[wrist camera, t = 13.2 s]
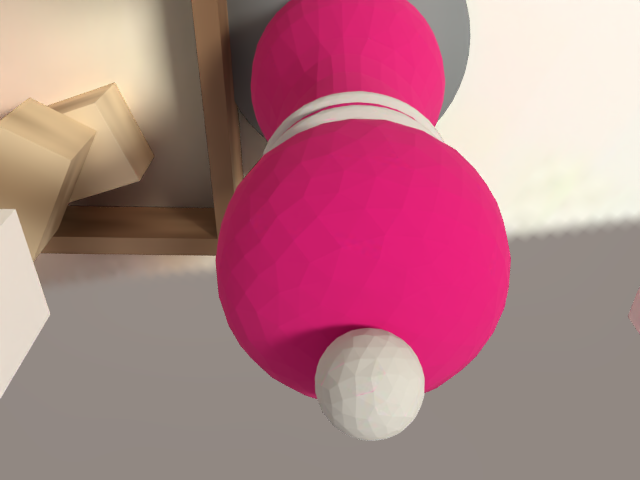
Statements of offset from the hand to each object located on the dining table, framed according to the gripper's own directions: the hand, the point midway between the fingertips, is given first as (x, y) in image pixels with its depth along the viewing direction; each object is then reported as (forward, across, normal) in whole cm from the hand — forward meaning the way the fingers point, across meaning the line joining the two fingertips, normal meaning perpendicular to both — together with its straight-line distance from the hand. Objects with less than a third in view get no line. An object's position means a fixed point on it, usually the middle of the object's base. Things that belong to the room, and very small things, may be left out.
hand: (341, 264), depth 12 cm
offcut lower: (+17, -13, -5) cm, 22 cm away
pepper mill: (+16, +1, 0) cm, 16 cm away
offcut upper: (+14, -13, -5) cm, 20 cm away
